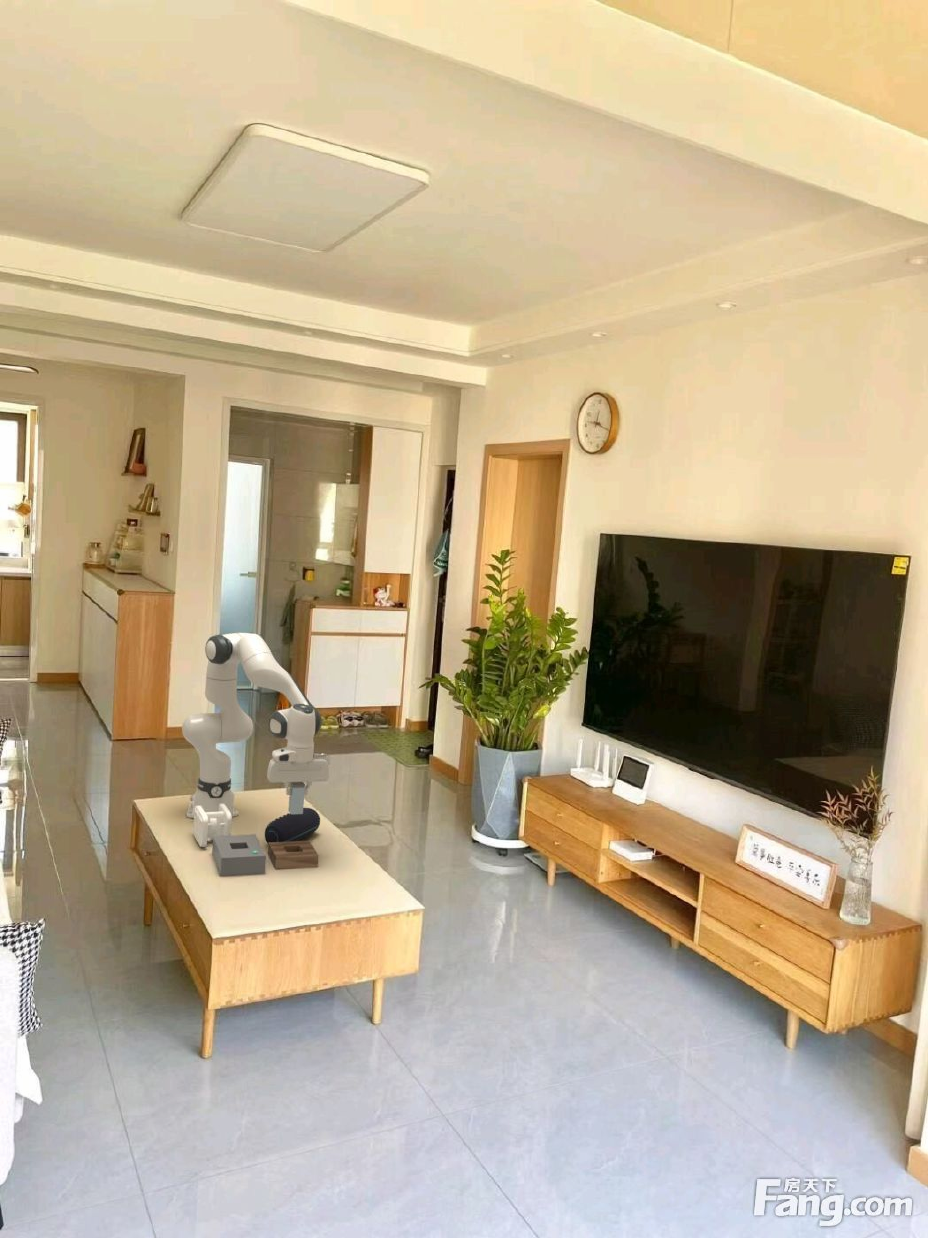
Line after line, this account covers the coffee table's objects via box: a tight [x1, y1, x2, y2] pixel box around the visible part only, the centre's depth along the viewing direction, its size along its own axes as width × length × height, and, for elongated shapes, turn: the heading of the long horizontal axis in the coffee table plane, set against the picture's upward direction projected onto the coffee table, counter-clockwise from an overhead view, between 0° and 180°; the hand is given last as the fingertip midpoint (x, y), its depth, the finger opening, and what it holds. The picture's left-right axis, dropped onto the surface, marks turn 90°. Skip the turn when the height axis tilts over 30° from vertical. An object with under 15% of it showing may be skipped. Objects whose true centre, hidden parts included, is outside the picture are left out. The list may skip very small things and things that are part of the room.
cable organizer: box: [192, 804, 233, 848], centre depth 331 cm, size 15×11×12 cm
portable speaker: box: [264, 807, 321, 844], centre depth 339 cm, size 25×10×10 cm, turn 156°
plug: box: [288, 782, 306, 814], centre depth 319 cm, size 4×4×10 cm
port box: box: [211, 833, 267, 877], centre depth 315 cm, size 20×14×6 cm
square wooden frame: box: [267, 840, 319, 870], centre depth 322 cm, size 14×14×4 cm
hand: (296, 794), depth 319 cm, fingers closed on plug, 4 cm apart
